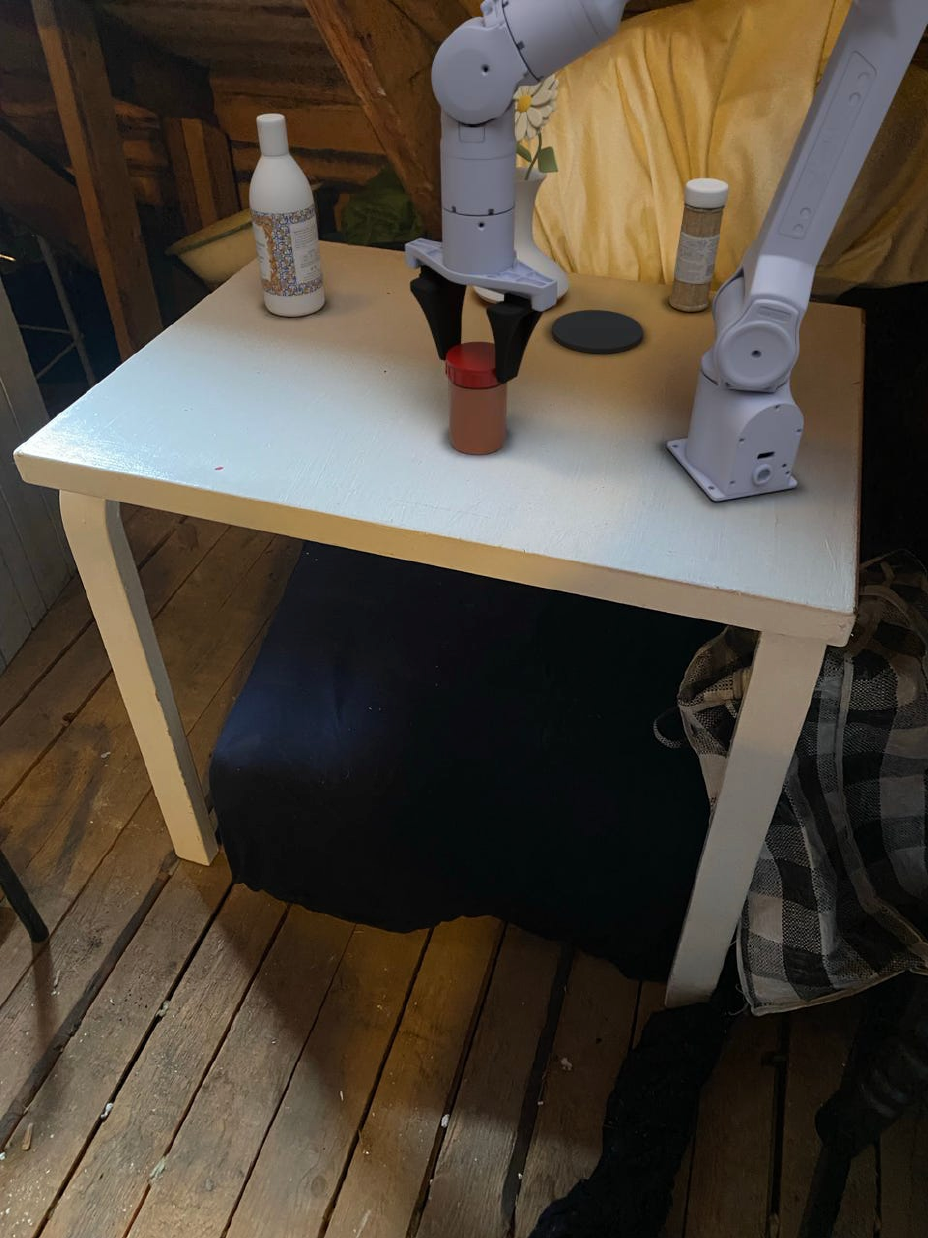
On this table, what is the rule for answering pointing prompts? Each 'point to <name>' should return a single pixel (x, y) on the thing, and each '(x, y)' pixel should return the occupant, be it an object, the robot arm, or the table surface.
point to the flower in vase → (532, 180)
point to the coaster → (597, 331)
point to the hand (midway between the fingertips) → (477, 367)
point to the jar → (477, 418)
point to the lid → (472, 364)
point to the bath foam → (284, 226)
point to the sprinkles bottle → (698, 243)
